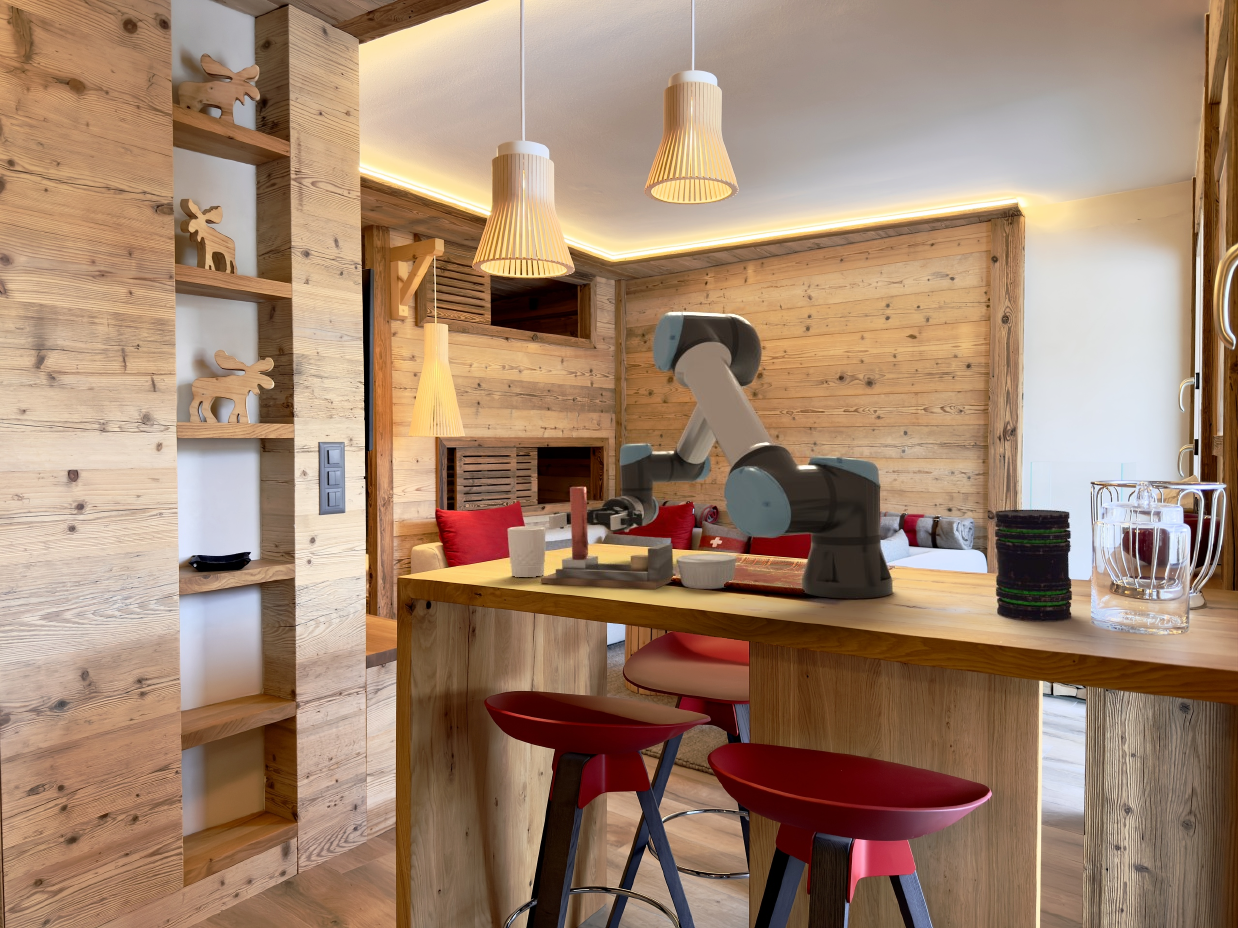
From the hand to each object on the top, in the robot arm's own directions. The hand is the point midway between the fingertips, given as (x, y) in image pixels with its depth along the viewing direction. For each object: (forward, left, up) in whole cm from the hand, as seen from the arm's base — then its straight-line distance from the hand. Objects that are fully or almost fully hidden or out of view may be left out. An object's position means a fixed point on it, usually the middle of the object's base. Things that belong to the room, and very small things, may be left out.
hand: (580, 522), depth 161 cm
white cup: (+8, +11, -12) cm, 18 cm away
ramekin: (-12, -23, -12) cm, 28 cm away
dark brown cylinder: (-49, -64, -12) cm, 81 cm away
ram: (-1, 0, -10) cm, 10 cm away
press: (-4, -5, -11) cm, 13 cm away
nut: (-7, -11, -10) cm, 17 cm away
